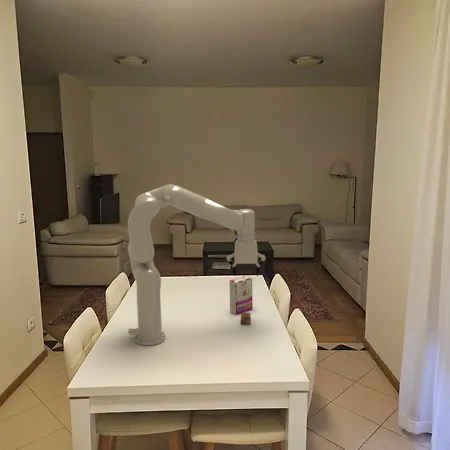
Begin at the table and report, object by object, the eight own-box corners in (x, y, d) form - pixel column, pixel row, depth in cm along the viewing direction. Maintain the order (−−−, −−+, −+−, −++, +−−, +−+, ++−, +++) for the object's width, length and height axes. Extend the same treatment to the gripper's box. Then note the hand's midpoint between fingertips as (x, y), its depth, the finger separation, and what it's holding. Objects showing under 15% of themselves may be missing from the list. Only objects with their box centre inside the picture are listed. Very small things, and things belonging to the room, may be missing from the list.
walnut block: (240, 325, 182) (240, 316, 181) (240, 320, 186) (240, 312, 185) (250, 325, 181) (250, 316, 181) (250, 321, 186) (250, 312, 185)
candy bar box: (245, 306, 203) (245, 275, 200) (252, 309, 199) (252, 277, 196) (229, 312, 196) (229, 279, 193) (236, 315, 192) (236, 282, 189)
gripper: (225, 239, 173) (226, 277, 176) (266, 239, 173) (266, 277, 176) (226, 235, 181) (227, 272, 184) (265, 235, 180) (265, 272, 183)
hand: (246, 275), depth 180 cm, fingers open, 9 cm apart
